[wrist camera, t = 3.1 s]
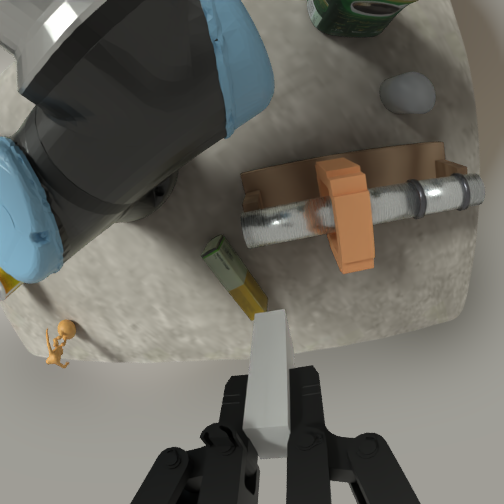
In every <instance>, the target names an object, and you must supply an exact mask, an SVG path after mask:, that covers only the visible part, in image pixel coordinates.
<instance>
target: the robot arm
mask: <svg viewBox="0 0 504 504" xmlns="http://www.w3.org/2000/svg"><path fill="white" fill-rule="evenodd" d="M0 47H2V48H3V49H4V50H6V51H7V52H9V53H10V54H12V55H13V56H14V58H15V61H16V64H17V91H18V92H19V93H20V94H21V95H22V96H24V97H25V98H27V99H28V100H30V101H31V102H33V103H34V104H36V106H35V107H34V108H33V110H32V111H31V112H30V114H29V115H28V117H27V118H26V120H25V121H24V122H23V124H22V125H21V127H20V128H19V130H18V131H17V132H16V133H15V134H14V135H12V136H10V137H2V136H1V137H0V267H1V268H2V269H3V270H4V271H5V272H6V273H7V274H9V275H11V276H12V277H13V278H15V279H16V280H18V281H21V282H24V283H29V284H30V283H37V282H40V281H42V280H44V279H45V278H46V277H48V276H49V275H50V274H52V273H56V272H58V271H59V270H60V269H61V267H62V266H63V263H65V262H66V261H67V260H68V259H69V258H71V257H72V256H73V255H74V254H75V253H77V252H78V251H79V250H80V249H82V248H83V247H84V246H85V245H87V244H88V243H89V242H90V241H92V240H93V239H94V238H96V237H97V236H98V235H99V234H101V233H102V232H103V231H105V230H106V229H107V228H109V227H110V226H111V225H113V224H114V223H120V222H131V221H136V220H139V219H141V218H144V217H146V216H148V215H149V214H151V213H152V212H153V211H155V210H156V209H157V208H158V207H160V206H161V205H162V204H163V203H164V202H165V201H166V199H167V198H168V197H169V195H170V194H171V192H172V190H173V188H174V185H175V183H176V179H177V175H178V169H179V168H180V167H182V166H183V165H185V164H186V163H187V162H189V161H190V160H192V159H193V158H194V157H196V156H197V155H199V154H200V153H202V152H203V151H205V150H206V149H207V148H209V147H210V146H212V145H213V144H215V143H216V142H218V141H219V140H221V139H222V138H224V139H227V138H229V137H230V136H231V135H232V134H233V133H234V130H235V129H237V128H238V127H240V126H241V125H243V124H244V123H245V122H247V121H248V120H250V119H251V118H253V117H254V116H256V115H257V114H259V113H260V112H262V111H263V110H264V109H265V108H266V107H267V106H268V105H269V103H270V100H271V98H272V96H273V93H274V88H275V85H274V75H273V71H272V67H271V63H270V60H269V57H268V54H267V51H266V49H265V46H264V44H263V41H262V39H261V37H260V35H259V33H258V31H257V28H256V26H255V24H254V22H253V21H252V19H251V17H250V15H249V13H248V11H247V10H246V8H245V7H244V5H243V3H242V2H241V0H0ZM200 438H201V440H202V441H203V442H204V443H205V444H206V446H204V447H201V448H198V449H194V450H189V451H184V450H183V449H181V448H178V447H171V448H167V449H165V450H164V451H162V452H161V454H160V455H159V456H158V458H157V459H156V461H155V463H154V464H153V466H152V468H151V470H150V471H149V473H148V475H147V476H146V478H145V480H144V482H143V483H142V485H141V487H140V488H139V490H138V492H137V493H136V495H135V497H134V498H133V500H132V502H131V504H258V490H259V476H260V470H259V466H258V465H257V460H258V456H259V457H260V459H268V458H269V459H270V458H283V457H287V495H286V497H287V498H286V504H331V489H330V480H332V481H339V482H348V483H349V485H350V488H351V490H352V492H353V495H354V497H355V499H356V502H357V504H420V502H419V500H418V498H417V496H416V494H415V493H414V491H413V489H412V488H411V485H410V483H409V482H408V480H407V478H406V476H405V475H404V473H403V471H402V469H401V467H400V465H399V464H398V462H397V460H396V458H395V456H394V455H393V453H392V451H391V449H390V448H389V446H388V444H387V442H386V441H385V440H384V438H383V437H382V436H380V435H378V434H376V433H365V434H361V435H359V436H357V437H356V438H346V437H340V436H336V435H334V434H332V433H331V432H329V431H328V429H327V428H326V426H325V421H324V413H323V403H322V395H321V387H320V380H319V373H318V372H317V371H316V369H315V368H314V367H313V366H306V367H299V368H295V366H294V348H293V344H292V339H291V334H290V330H289V325H288V321H287V317H286V312H285V309H281V310H275V311H269V312H263V313H256V314H255V317H254V327H253V336H252V346H251V355H250V365H249V374H248V375H239V376H231V378H230V379H229V381H228V382H227V384H226V385H225V390H224V397H223V402H222V407H221V413H220V419H219V423H213V424H211V425H209V426H207V427H206V428H205V429H204V430H203V431H202V433H201V435H200Z"/></svg>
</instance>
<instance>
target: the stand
mask: <svg viewBox="0 0 504 504" xmlns="http://www.w3.org/2000/svg"><path fill="white" fill-rule="evenodd" d="M343 157H344V158H346V159H348V160H350V161H352V162H353V163H355V164H357V165H359V166H360V170H361V172H362V173H364V174H365V176H366V183H367V189H369V188H375V187H381V186H387V185H393V184H399V183H406V181H407V180H409V179H416V180H418V181H419V180H426V179H433V178H440V177H447V176H450V175H451V174H453V173H460V174H462V175H463V174H467V167H466V166H463V165H460V164H457V163H454V162H451V161H447V160H445V152H444V143H443V142H439V141H438V142H426V143H416V144H406V145H397V146H389V147H381V148H373V149H366V150H359V151H353V152H346V153H340V154H334V155H328V156H322V157H316V158H311V159H306V160H300V161H295V162H290V163H285V164H280V165H275V166H271V167H266V168H262V169H257V170H253V171H248V172H244V173H241V174H240V175H241V179H242V183H243V187H244V191H245V195H246V196H245V198H244V201H243V204H242V206H243V210H244V213H245V212H249V211H254V210H259V209H263V208H268V207H273V206H278V205H283V204H288V203H293V202H298V201H303V200H308V199H313V198H318V197H320V192H319V187H318V181H317V173H316V168H315V165H316V162H319V161H325V160H331V159H337V158H343Z"/></svg>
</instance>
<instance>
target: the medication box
mask: <svg viewBox="0 0 504 504" xmlns="http://www.w3.org/2000/svg"><path fill="white" fill-rule="evenodd" d="M201 257H202V258H203V260H204V261H205V262H206V264H207V265H208V266H209V268H210V269H211V270H212V271H213V273H214V274H215V275H216V277H217V278H218V279H219V281H220V282H221V283H222V284H223V286H224V287H225V288H226V290H227V291H228V292H229V293H230V295H231V296H232V297H233V298H234V300H235V301H236V302H237V303H238V305H239V306H240V307H241V309H242V310H243V311H244V312H245V314H246V315H247V316H248V317H249V319H250V320H252V321H253V320H254V317H255V314H256V313H263V312H267V303H268V298H267V296H266V295H265V293H264V292H263V291H262V289H261V288H260V286H259V285H258V284H257V282H256V281H255V279H254V278H253V277H252V275H251V274H250V272H249V271H248V269H247V268H246V267H245V265H244V264H243V262H242V261H241V260H240V258H239V257H238V255H237V254H236V252H235V251H234V250H233V248H232V247H231V245H230V244H229V243H228V241H227V240H226V238H225V237H224V236H223V235H219V236H217V237H215V238H213V239H212V240H211V241H210V242H208V244H207V246H206V248H205V249H204V251H203V253H202V255H201Z"/></svg>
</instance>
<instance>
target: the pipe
mask: <svg viewBox="0 0 504 504" xmlns="http://www.w3.org/2000/svg"><path fill="white" fill-rule="evenodd" d="M367 190H368V191H369V194H370V202H371V212H372V222H373V225H375V224H380V223H385V222H390V221H396V220H401V219H406V218H411V217H413V218H414V219H419V218H423V217H424V215H427V214H432V213H438V212H443V211H448V210H453V209H457V210H459V211H461V210H465V209H467V208H468V207H469V206H475V205H480V204H482V202H483V201H484V198H485V188H484V184H483V181H482V179H481V178H480V176H479V175H477V174H476V173H471V174H463V175H462V174H460V173H453V174H451V175H450V176H447V177H440V178H433V179H426V180H419V181H418V180H416V179H409V180H407V181H406V183H399V184H393V185H387V186H381V187H375V188H369V189H367ZM241 225H242V231H243V235H244V239H245V242H246V245H247V247H248V248H249V249H251V248H256V247H261V246H266V245H271V244H277V243H282V242H287V241H292V240H297V239H302V238H307V237H313V236H318V235H323V234H328V233H333V232H336V228H335V221H334V214H333V208H332V201H331V198H330V196H324V197H318V198H313V199H308V200H303V201H298V202H293V203H288V204H283V205H278V206H273V207H268V208H263V209H259V210H254V211H249V212H245V213H242V214H241Z"/></svg>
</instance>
